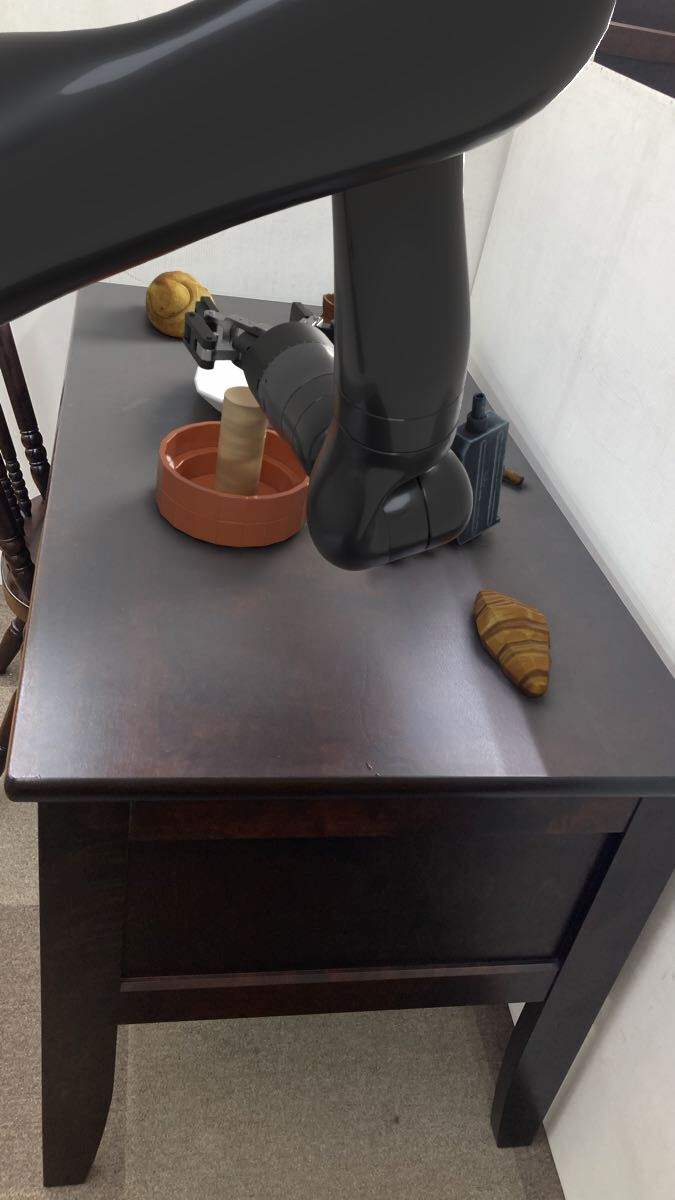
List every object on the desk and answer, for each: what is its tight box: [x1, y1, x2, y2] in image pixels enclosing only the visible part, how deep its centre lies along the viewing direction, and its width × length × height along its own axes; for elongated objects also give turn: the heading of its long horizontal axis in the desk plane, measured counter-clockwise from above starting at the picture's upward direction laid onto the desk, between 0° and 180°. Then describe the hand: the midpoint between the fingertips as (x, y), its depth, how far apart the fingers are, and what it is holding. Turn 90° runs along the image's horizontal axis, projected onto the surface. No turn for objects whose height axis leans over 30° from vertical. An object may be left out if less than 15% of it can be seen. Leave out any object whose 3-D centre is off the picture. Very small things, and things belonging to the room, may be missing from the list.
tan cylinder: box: [213, 386, 268, 496], centre depth 87 cm, size 4×4×12 cm
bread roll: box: [145, 270, 216, 339], centre depth 125 cm, size 13×10×8 cm
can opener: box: [502, 468, 525, 486], centre depth 108 cm, size 9×2×1 cm, turn 50°
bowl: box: [193, 360, 275, 431], centre depth 108 cm, size 22×22×5 cm
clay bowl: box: [155, 420, 310, 548], centre depth 89 cm, size 15×15×6 cm
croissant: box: [473, 588, 552, 699], centre depth 79 cm, size 14×7×5 cm, turn 13°
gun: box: [389, 391, 510, 563], centre depth 88 cm, size 3×17×15 cm
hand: (249, 309), depth 80 cm, fingers open, 8 cm apart
